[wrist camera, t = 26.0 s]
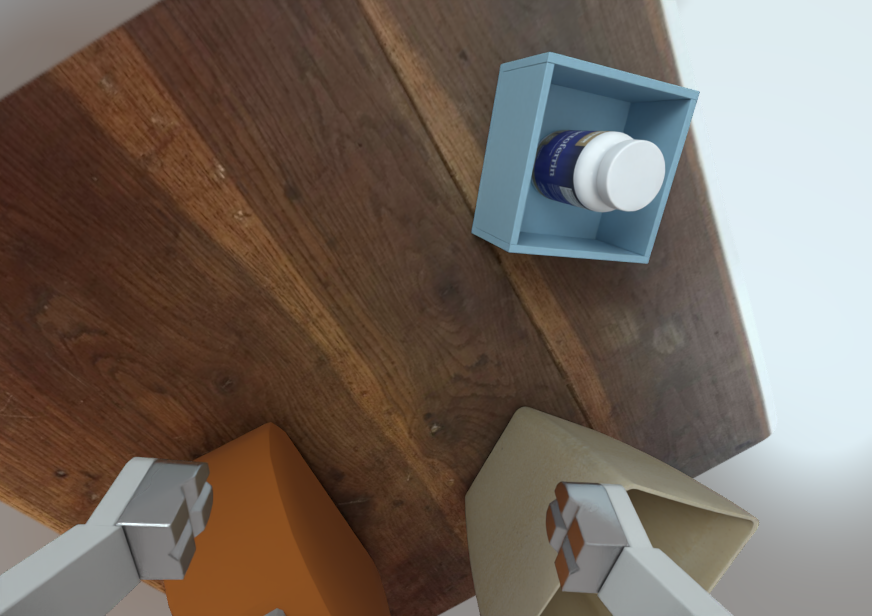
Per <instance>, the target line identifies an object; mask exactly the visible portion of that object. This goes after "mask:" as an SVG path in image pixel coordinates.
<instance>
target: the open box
mask: <svg viewBox="0 0 872 616" xmlns="http://www.w3.org/2000/svg"><path fill="white" fill-rule="evenodd" d="M699 93H700V92H699V91H695V90H692V89H688V88H684V87H680V86H677V85H673V84H669V83H665V82H661V81H658V80H654V79H650V78H646V77H643V76H639V75H635V74H631V73H628V72H624V71H620V70H616V69H613V68H609V67H605V66H601V65H598V64H594V63H590V62H586V61H582V60H579V59H575V58H571V57H567V56H564V55H560V54H556V53H552V52H547V53H543V54H539V55H535V56H531V57H528V58H524V59H520V60H516V61H512V62H508V63H504V64H501V66H500V72H499V78H498V84H497V89H496V95H495V101H494V106H493V112H492V118H491V124H490V129H489V135H488V141H487V147H486V152H485V158H484V164H483V169H482V175H481V181H480V187H479V192H478V198H477V204H476V210H475V215H474V221H473V227H472V233H473V234H475V235H477V236H478V237H480V238H482V239H484V240H486V241H488V242H490V243H492V244H494V245H496V246H498V247H499V248H501V249H503V250H505V251H507V252H510V253H522V254H534V255H547V256H559V257H572V258H584V259H596V260H609V261H621V262H634V263H646V264H647V263H648V261H649V258H650V257H649V256H650V254H651V251H652V248H653V244H654V241H655V238H656V235H657V231H658V228H659V225H660V221H661V218H662V215H663V212H664V208H665V205H666V202H667V198H668V195H669V192H670V188H671V185H672V182H673V179H674V175H675V172H676V169H677V165H678V162H679V159H680V155H681V152H682V149H683V146H684V142H685V139H686V136H687V132H688V129H689V126H690V122H691V119H692V116H693V113H694V109H695V106H696V103H697V100H698V96H699ZM560 130H580V131H616V132H621V133H624V134H627V135H628V136H630V137H631V138H633V139H635V140H645V141H649V142H652V143H653V144H655V145H656V146H657V147H658V148H659V149H660V151H661V152H662V154H663V157H664V161H665V176H664V180H663V183H662V186H661V188H660V190H659V192H658V194H657V195H656V196H655V198H654V199H653V200H652V201H651V202H650V203H649V204H648V205H646V206H645V207H643V208H641V209H639V210H637V211H629V212H628V211H621V210H617V209H615V210H613V211H609V212H595V211H590V210H587V209H584V208H580V207H576V206H573V205H569V204H565V203H561V202H558V201H554V200H551V199H548V198H546V197H544V196H542V195H541V194H540V193H538V191H537V190H536V189H535V187H534V186H533V184H532V181H531V175H532V171H533V166H534V161H535V156H536V151H537V147H538V144H539V142H540V141H541V140H542V139H543V138H544V137H546V136H547V135H549V134H551V133H553V132H556V131H560Z"/></svg>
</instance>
